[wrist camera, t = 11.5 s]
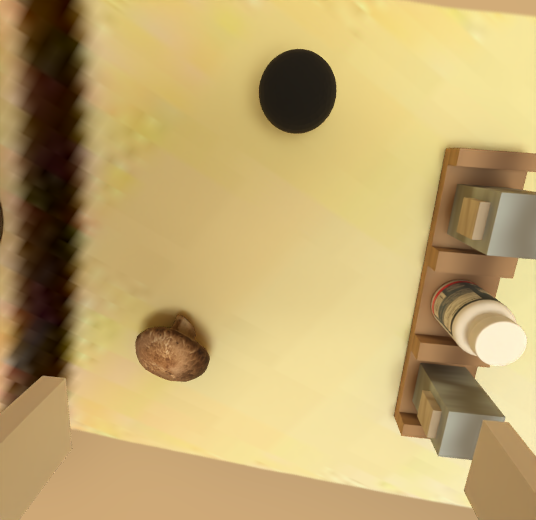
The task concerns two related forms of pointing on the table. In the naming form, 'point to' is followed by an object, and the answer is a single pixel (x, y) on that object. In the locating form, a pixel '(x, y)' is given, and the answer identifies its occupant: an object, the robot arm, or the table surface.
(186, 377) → the mushroom
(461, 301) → the pill bottle
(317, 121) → the black round piece
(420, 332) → the rail
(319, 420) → the table surface
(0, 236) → the robot arm
